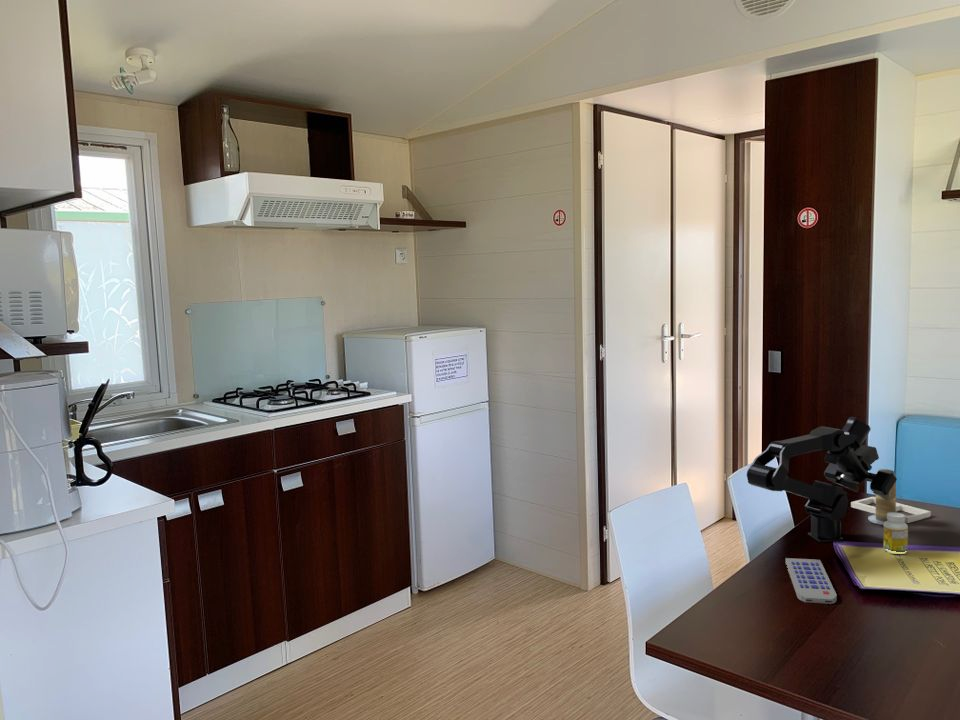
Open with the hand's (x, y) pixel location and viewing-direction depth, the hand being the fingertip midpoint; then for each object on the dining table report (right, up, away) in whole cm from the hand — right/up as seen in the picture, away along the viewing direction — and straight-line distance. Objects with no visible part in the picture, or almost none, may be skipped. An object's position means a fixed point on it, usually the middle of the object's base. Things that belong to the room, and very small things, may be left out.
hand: (872, 494), depth 208 cm
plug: (+5, -8, +3) cm, 10 cm away
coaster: (+6, -8, +3) cm, 10 cm away
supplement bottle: (-4, -11, -19) cm, 23 cm away
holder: (+11, -7, +11) cm, 17 cm away
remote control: (-33, -15, -35) cm, 50 cm away
